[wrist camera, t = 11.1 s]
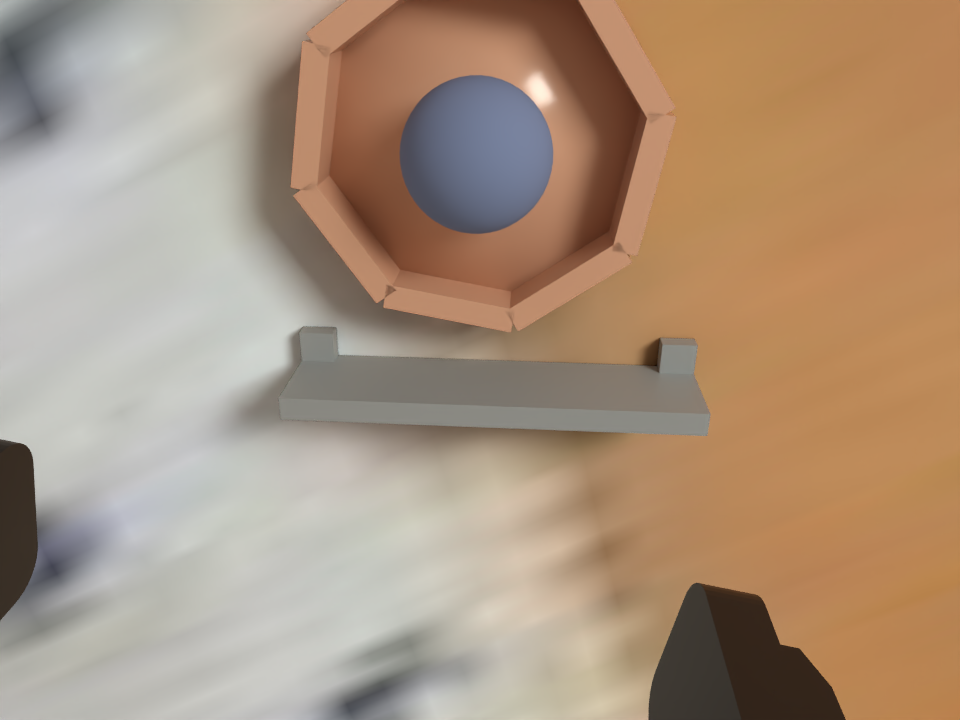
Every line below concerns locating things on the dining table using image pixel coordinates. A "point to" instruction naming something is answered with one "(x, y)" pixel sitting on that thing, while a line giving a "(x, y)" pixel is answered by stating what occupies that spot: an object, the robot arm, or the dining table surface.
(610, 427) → the fence
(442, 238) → the bowl
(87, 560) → the dining table surface
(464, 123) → the ball
